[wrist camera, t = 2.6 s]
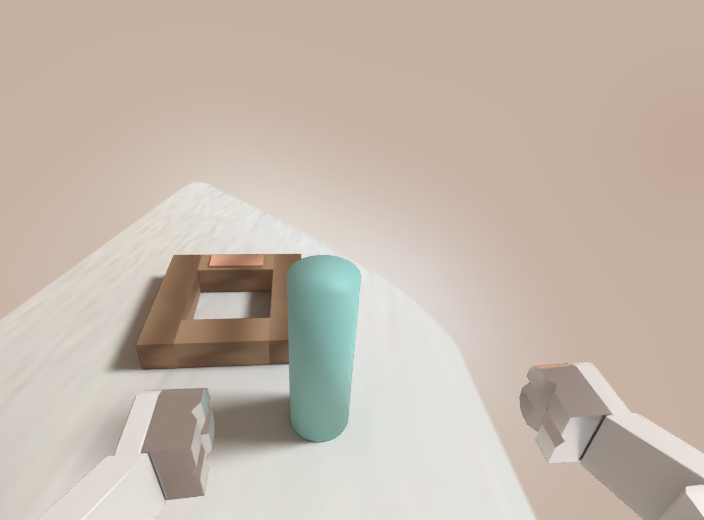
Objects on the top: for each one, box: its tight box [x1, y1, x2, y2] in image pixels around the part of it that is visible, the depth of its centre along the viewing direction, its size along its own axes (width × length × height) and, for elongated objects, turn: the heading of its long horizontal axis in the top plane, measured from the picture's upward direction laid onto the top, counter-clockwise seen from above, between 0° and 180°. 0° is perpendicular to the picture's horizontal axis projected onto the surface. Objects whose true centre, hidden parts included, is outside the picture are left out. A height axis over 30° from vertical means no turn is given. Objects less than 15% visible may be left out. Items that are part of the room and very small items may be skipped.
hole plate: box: [136, 254, 301, 369], centre depth 38 cm, size 12×12×3 cm
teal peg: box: [287, 255, 361, 442], centre depth 27 cm, size 4×4×12 cm
